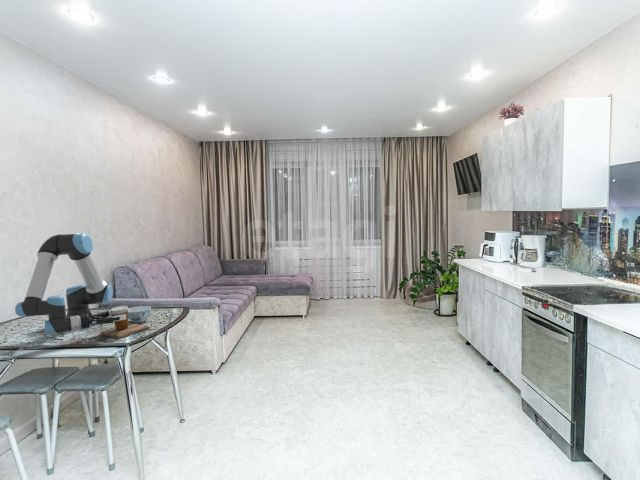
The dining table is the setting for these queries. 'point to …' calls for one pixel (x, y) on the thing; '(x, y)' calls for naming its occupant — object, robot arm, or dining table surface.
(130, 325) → the walnut board
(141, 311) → the chinaware
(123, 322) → the disposable coffee cup
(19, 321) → the dining table surface
